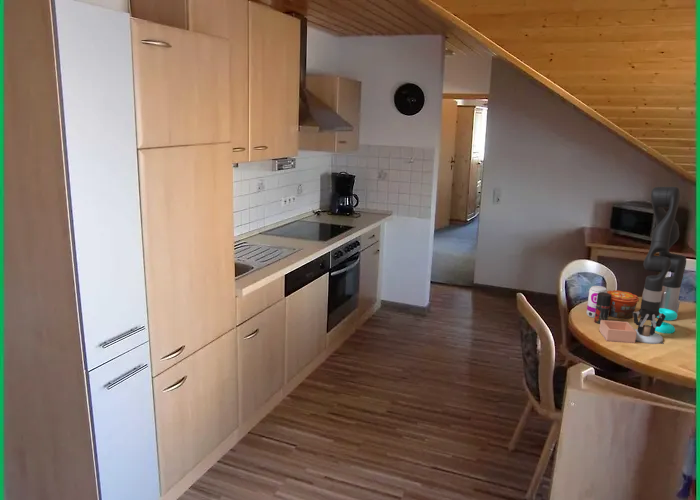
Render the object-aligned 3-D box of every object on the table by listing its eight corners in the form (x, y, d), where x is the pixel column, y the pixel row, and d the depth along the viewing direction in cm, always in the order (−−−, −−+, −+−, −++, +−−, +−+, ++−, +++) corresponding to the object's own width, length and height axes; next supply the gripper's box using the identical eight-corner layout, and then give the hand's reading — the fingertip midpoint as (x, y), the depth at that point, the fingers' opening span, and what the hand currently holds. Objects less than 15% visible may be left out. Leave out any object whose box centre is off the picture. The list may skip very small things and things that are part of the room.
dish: (625, 333, 257) (627, 321, 256) (634, 344, 246) (636, 331, 244) (598, 331, 259) (600, 320, 257) (606, 342, 247) (608, 329, 246)
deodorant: (608, 326, 266) (612, 296, 263) (595, 324, 268) (599, 295, 264) (605, 321, 272) (609, 292, 268) (592, 320, 273) (596, 291, 270)
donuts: (657, 305, 267) (680, 311, 260) (653, 325, 269) (676, 330, 262) (651, 310, 259) (674, 316, 253) (647, 330, 262) (671, 336, 255)
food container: (642, 320, 275) (645, 300, 272) (609, 319, 275) (612, 299, 272) (627, 309, 290) (630, 290, 287) (596, 308, 290) (599, 289, 288)
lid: (655, 332, 258) (657, 321, 257) (667, 345, 245) (669, 333, 243) (623, 330, 260) (625, 319, 259) (634, 342, 247) (636, 330, 245)
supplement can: (602, 320, 274) (606, 291, 270) (584, 316, 278) (588, 288, 274) (604, 315, 281) (608, 287, 277) (587, 311, 285) (591, 284, 281)
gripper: (665, 297, 250) (658, 332, 254) (631, 294, 252) (626, 329, 256) (671, 302, 243) (665, 338, 247) (637, 300, 245) (631, 336, 249)
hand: (645, 333), depth 252 cm, fingers open, 4 cm apart
